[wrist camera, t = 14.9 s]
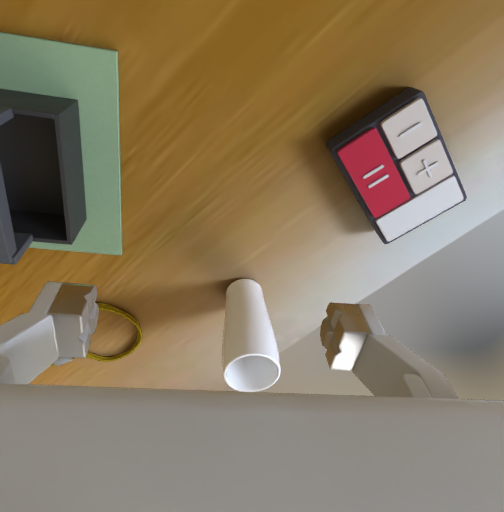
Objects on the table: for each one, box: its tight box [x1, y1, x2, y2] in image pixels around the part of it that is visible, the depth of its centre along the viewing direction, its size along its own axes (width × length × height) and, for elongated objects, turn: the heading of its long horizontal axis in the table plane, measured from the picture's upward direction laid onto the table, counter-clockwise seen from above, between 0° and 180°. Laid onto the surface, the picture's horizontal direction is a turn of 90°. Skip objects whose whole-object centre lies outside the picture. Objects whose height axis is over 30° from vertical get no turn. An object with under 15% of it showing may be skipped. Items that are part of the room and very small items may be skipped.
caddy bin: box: [0, 89, 87, 264], centre depth 39 cm, size 14×10×11 cm
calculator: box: [326, 87, 467, 244], centre depth 47 cm, size 11×4×15 cm
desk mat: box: [0, 32, 122, 255], centre depth 44 cm, size 24×18×1 cm
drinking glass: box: [222, 279, 281, 392], centre depth 51 cm, size 7×7×15 cm
